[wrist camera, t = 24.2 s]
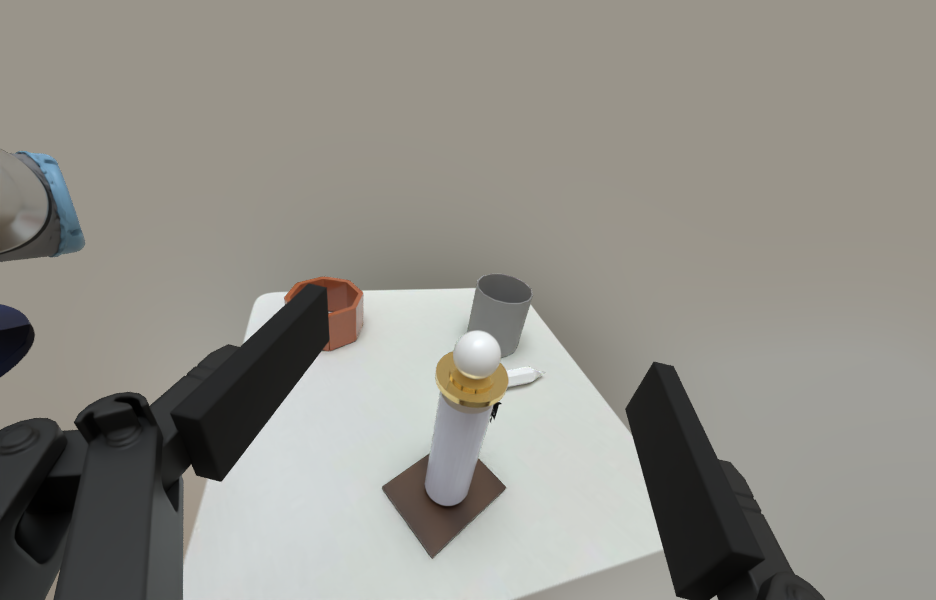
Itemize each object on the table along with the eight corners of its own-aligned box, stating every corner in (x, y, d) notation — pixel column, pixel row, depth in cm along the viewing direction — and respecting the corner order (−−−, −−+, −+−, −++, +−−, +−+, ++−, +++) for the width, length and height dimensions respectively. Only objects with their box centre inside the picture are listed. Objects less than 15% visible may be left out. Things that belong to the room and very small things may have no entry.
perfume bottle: (450, 529, 34) (492, 376, 23) (406, 488, 36) (425, 333, 26) (484, 485, 38) (534, 337, 27) (443, 451, 41) (473, 303, 30)
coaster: (432, 558, 32) (432, 556, 32) (381, 488, 37) (382, 486, 36) (505, 489, 39) (506, 487, 38) (455, 436, 43) (455, 434, 43)
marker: (543, 380, 54) (442, 401, 48) (538, 367, 55) (439, 385, 48) (552, 376, 52) (448, 397, 46) (547, 362, 53) (444, 380, 46)
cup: (472, 357, 55) (484, 303, 50) (461, 324, 62) (471, 272, 56) (524, 356, 57) (541, 304, 52) (508, 324, 64) (522, 274, 58)
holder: (309, 359, 49) (305, 324, 46) (280, 321, 55) (275, 287, 52) (373, 334, 56) (374, 302, 52) (341, 302, 61) (340, 271, 58)
